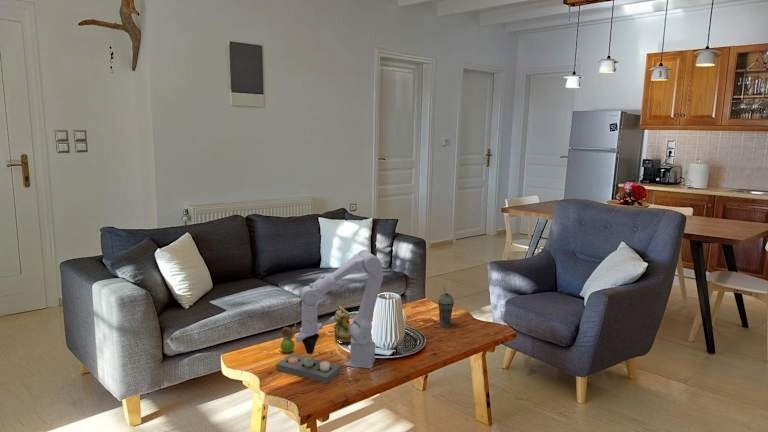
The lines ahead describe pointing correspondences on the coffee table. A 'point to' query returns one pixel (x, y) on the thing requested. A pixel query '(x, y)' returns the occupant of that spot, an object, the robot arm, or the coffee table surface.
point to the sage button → (308, 362)
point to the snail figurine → (288, 339)
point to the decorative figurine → (342, 325)
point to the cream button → (324, 366)
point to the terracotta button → (293, 360)
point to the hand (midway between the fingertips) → (309, 353)
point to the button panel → (306, 372)
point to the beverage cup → (445, 309)
